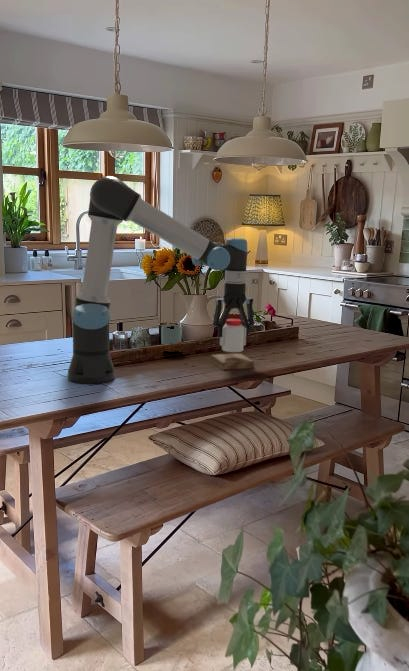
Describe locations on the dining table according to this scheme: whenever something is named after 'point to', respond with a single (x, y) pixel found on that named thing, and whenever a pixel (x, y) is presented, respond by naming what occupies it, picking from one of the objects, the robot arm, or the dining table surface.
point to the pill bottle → (233, 336)
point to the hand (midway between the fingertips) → (232, 345)
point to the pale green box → (170, 334)
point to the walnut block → (232, 361)
